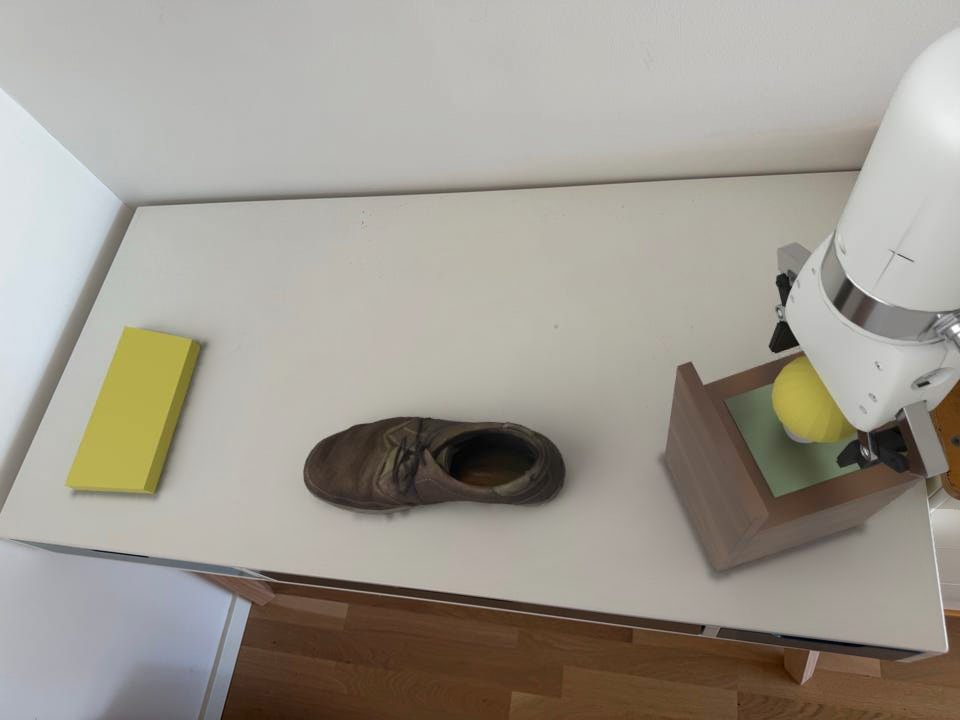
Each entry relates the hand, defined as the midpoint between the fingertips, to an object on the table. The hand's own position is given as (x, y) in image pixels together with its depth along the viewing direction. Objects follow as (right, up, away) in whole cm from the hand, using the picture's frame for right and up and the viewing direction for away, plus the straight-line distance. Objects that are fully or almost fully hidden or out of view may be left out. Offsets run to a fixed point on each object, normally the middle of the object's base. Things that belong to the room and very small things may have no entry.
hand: (822, 398), depth 48 cm
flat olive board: (-72, -4, +44) cm, 85 cm away
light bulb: (+1, -3, +6) cm, 7 cm away
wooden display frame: (+5, -11, +22) cm, 25 cm away
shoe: (-30, -11, +30) cm, 44 cm away
